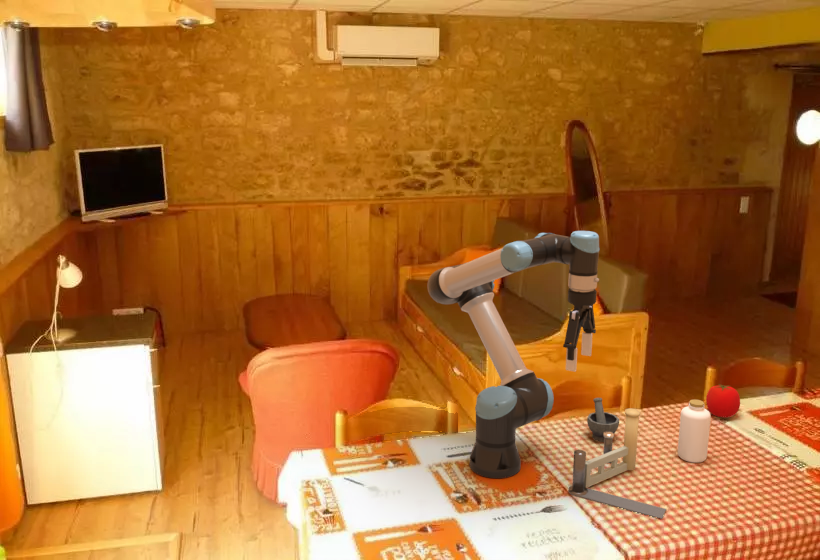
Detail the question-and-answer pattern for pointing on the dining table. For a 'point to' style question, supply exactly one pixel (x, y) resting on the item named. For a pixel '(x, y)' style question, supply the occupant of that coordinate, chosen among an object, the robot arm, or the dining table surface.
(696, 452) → the potion bottle
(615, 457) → the slotted fence panel
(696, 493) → the dining table surface
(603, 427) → the mortar and pestle
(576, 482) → the brown knob post
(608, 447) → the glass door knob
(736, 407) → the tomato
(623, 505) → the strip
